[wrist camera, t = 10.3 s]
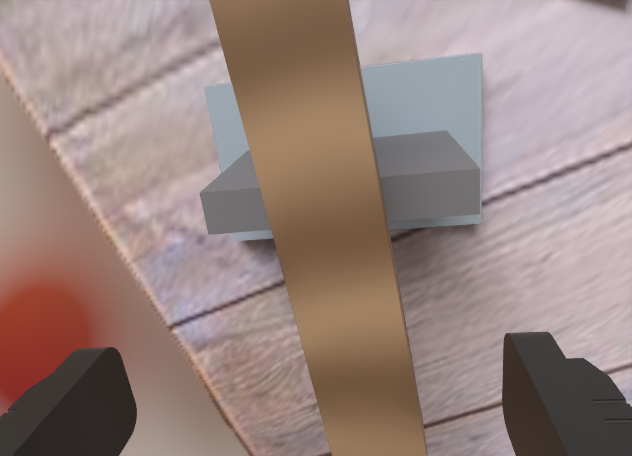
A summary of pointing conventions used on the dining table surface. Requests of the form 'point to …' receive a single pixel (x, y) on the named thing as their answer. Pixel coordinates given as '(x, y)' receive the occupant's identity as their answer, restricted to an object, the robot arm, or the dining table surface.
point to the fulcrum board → (387, 115)
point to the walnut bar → (326, 214)
